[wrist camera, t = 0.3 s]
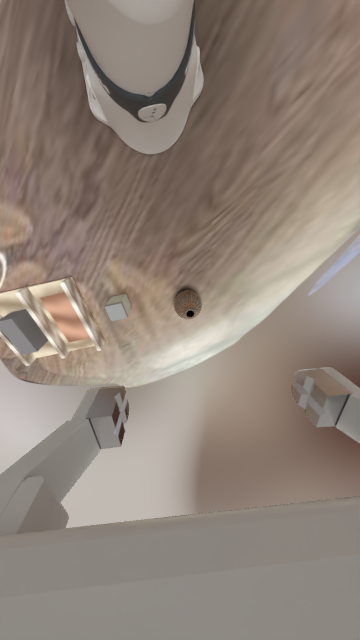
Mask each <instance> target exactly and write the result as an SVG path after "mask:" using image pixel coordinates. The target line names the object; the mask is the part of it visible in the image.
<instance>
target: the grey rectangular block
mask: <svg viewBox="0 0 360 640" xmlns="http://www.w3.org/2000/svg"><path fill="white" fill-rule="evenodd" d="M105 309H106V311H107V313H108V315H109V318H110V320H111V321H116V320H120V319H125V318H127V317H128V315H129V312H130V310H131V305H130V302H129V300H128V297H127V295H126V294H123V295H118V296H114V297H111V298H110V300H109V301H108V303H107V304H106V305H105Z"/></svg>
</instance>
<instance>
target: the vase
mask: <svg viewBox="0 0 360 640" xmlns="http://www.w3.org/2000/svg"><path fill="white" fill-rule="evenodd" d="M201 306H202V303H201V299H200V297H199V296H198V295H197V294H196V293H195V292H193V291H191V290H184V291H182V292H180V293H179V294H178V295H177V296H176V298H175V301H174V308H175V311H176V312H177V314H178V315H179V316H180V317H182V318H184V319H192V318H194V317H196V316H197V315H198V314H199V313H200V311H201Z"/></svg>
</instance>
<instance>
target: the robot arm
mask: <svg viewBox="0 0 360 640" xmlns="http://www.w3.org/2000/svg"><path fill="white" fill-rule="evenodd" d="M64 1H65V5H66V9H67V13H68V16H69V19H70V21H71V24H72V25H74V27H76V31H77V37H78V42H77V43H76V45H77V50H78V54H79V57H80V59H81V61H82V65H83V71H84V77H85V83H86V88H87V94H88V100H89V105H90V109H91V111H92V113H93V115H94V116H95V117H96V118H97V119H98V120H99V121H101V122H103V123H104V124H106V125H108V126H110V127H111V128H112V129H113V130H114V131H115V132H116V133H117V135H118V136H119V137H120V138H121V139H122V140H123V141H124V142H125V143H126V144H127V145H128V146H129V147H131V148H132V149H134V150H136V151H138V152H140V153H144V154H158V153H161V152H163V151H165V150H167V149H169V148H170V147H171V146H172V145H173V144H174V143H175V142H176V141H177V140H178V138H179V137H180V135H181V133H182V131H183V129H184V127H185V125H186V122H187V118H188V115H189V112H190V109H191V107H192V105H193V104H194V103H195V101H196V100H197V98H198V97H199V95H200V94H201V91H202V89H203V82H204V79H203V73H202V68H201V64H200V59H199V57H200V50H199V47H198V46H197V45H196V40H195V35H194V28H195V26H194V24H195V1H194V0H64ZM94 98H95V99H94ZM294 378H295V380H296V381H295V382H294V383H293V384H292V386H291V393H292V396H293V399H294V400H295V402H296V403H297V404H298V405H299V406H301V407H302V408H304V409H305V414H306V416H307V417H308V418H309V419H310V420H311V422H312V423H313V424H314V425H315V426H316V427H328V426H336V427H337V428H338V429H339V430H341V431H342V432H344V433H345V434H347V435H348V436H350V437H351V438H353V439H354V440H356V441H357V442H358V443H360V388H359V387H357V386H356V385H355V384H353V383H352V382H351V381H349V380H348V379H347V378H345V377H344V376H343V375H341V374H340V373H339V372H337V371H336V370H335V369H333V368H330V367H326V368H318V369H317V368H316V369H306V370H297V371H296V372H295V374H294ZM125 394H126V390H125V387H124V386H113V387H101V388H90V389H89V390H88V391H87V393H86V394H85V396H84V398H83V400H82V401H81V403H80V405H79V407H78V409H77V410H76V412H75V414H74V416H73V417H72V419H71V421H66V422H65V423H64V424H63V425H61V426H60V427H59V428H58V429H56V430H55V431H54V432H53V433H51V434H50V435H49V436H48V437H46V438H45V439H44V440H43V441H42V442H40V443H39V444H38V445H37V446H35V447H34V448H33V449H32V450H30V451H29V452H28V453H27V454H26V455H24V456H23V457H22V458H20V459H19V460H18V461H17V462H15V463H14V464H13V465H12V466H10V467H9V468H8V469H7V470H5V471H4V472H3V473H2V474H0V640H360V496H353V497H345V498H335V499H326V500H317V501H309V502H299V503H290V504H282V505H272V506H263V507H254V508H245V509H236V510H227V511H218V512H208V513H199V514H191V515H181V516H172V517H164V518H154V519H145V520H136V521H127V522H118V523H110V524H101V525H91V526H82V527H74V528H66V525H67V522H68V519H69V516H68V513H67V512H66V510H65V509H64V507H63V506H62V504H61V503H60V502H61V501H62V500H63V498H64V497H65V496H66V494H67V493H68V492H69V490H70V489H71V488H72V487H73V485H74V484H75V483H76V481H77V480H78V479H79V478H80V476H81V475H82V474H83V472H84V471H85V470H86V469H87V467H88V466H89V465H90V463H91V462H92V461H93V460H94V458H95V457H96V456H97V454H98V453H99V452H100V449H105V448H113V447H120V446H121V445H122V441H123V437H124V433H125V429H124V424H125V423H126V422H127V419H128V415H129V403H128V399H127V398H126V397H125Z"/></svg>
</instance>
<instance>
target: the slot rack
mask: <svg viewBox="0 0 360 640" xmlns="http://www.w3.org/2000/svg"><path fill="white" fill-rule="evenodd" d="M24 309H26V310H27V311H28V312H29V314H30V315H31V317H32V318H33V319H34V321H35V322H36V324H37V325H38V326H39V328H40V329H41V330H42V332H43V333H44V335H45V336H46V337H47V339H48V341H47V342H46V343H45V344H44V345H43V346H42V347H41V349H40V350H39V351H38V352H34V353H29V354H24V355H22V354H21V352H20V351H19V350H18V349H17V348H16V347H15V345H14V344H13V343H12V342H11V341H10V340H9V338H8V337H7V336H6V335H5V334H4V333H3V332H2V330H1V329H0V337H1V338H2V339H3V340H4V341H5V342H6V344H7V345H8V346H9V347H10V348H11V349H12V350H13V352H14V353H15V354H16V355H17V356H18V357H19V358H20V359H21V361H22V362H23V363H24V364H25V365H26V366H29V365H30V364H31V363H32V362H33V361H34V360H35V359H36V358H39V357H44V356H48V355H53V354H59V355H60V357H61V358H66V356H67V355H68V353H69V352H70V351H72V350H77V349H82V348H87V347H91V346H95V347H96V348H97V350H98V351H100V350H102V348H103V346H104V344H105V342H106V341H105V340H104V338H103V336H102V334H101V332H100V330H99V328H98V326H97V324H96V322H95V320H94V318H93V316H92V315H91V313H90V311H89V309H88V307H87V305H86V303H85V301H84V299H83V297H82V295H81V293H80V291H79V289H78V288H77V286H76V284H75V282H74V280H73V278H72V277H69V278H64V279H60V280H55V281H51V282H46V283H42V284H38V285H33V286H29V287H24V288H20V289H15V290H11V291H6V292H2V293H0V319H1V318H3V317H4V316H6V315H8V314H9V313H11V312H15V311H20V310H24Z"/></svg>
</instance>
